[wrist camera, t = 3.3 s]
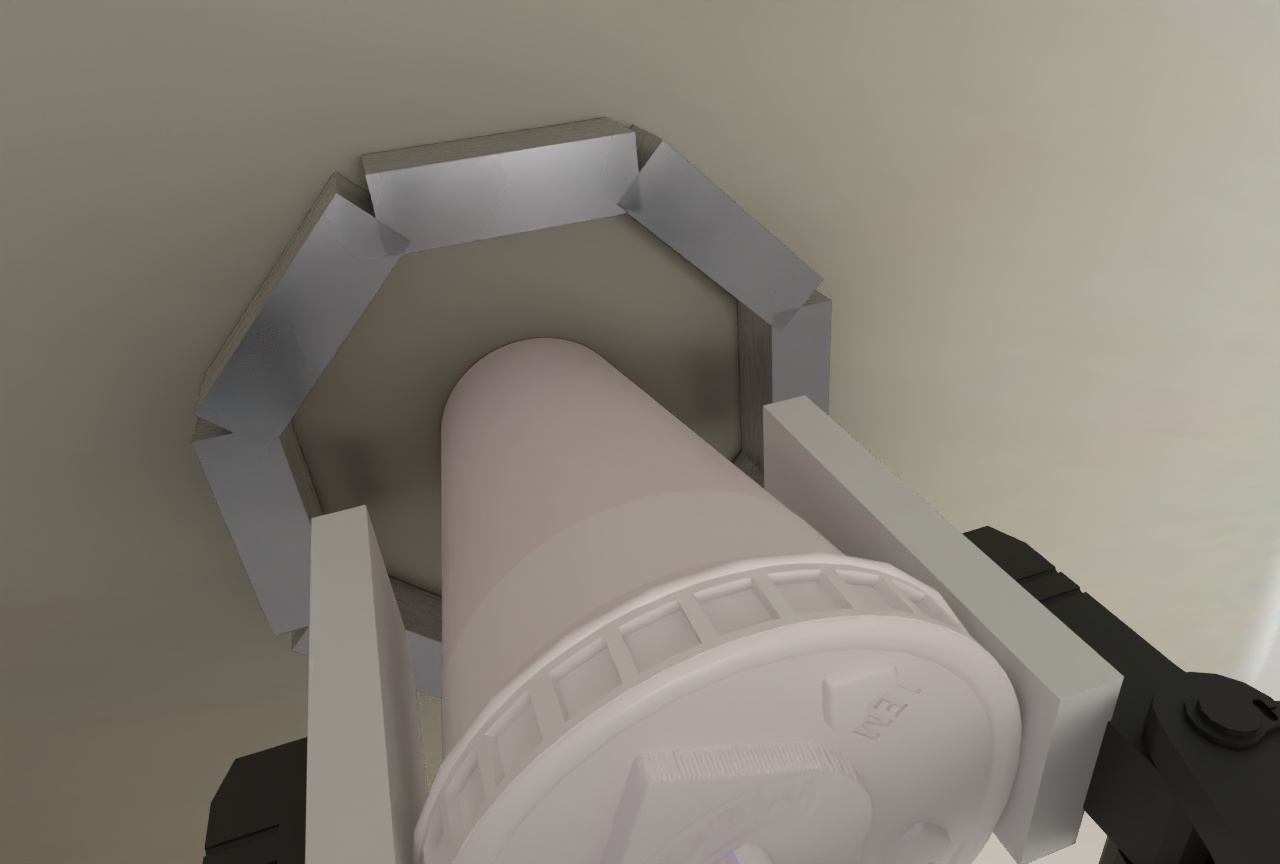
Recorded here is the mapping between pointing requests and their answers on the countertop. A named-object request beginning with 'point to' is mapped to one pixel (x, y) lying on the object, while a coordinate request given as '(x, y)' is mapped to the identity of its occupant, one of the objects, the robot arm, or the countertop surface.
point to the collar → (449, 215)
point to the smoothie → (682, 653)
